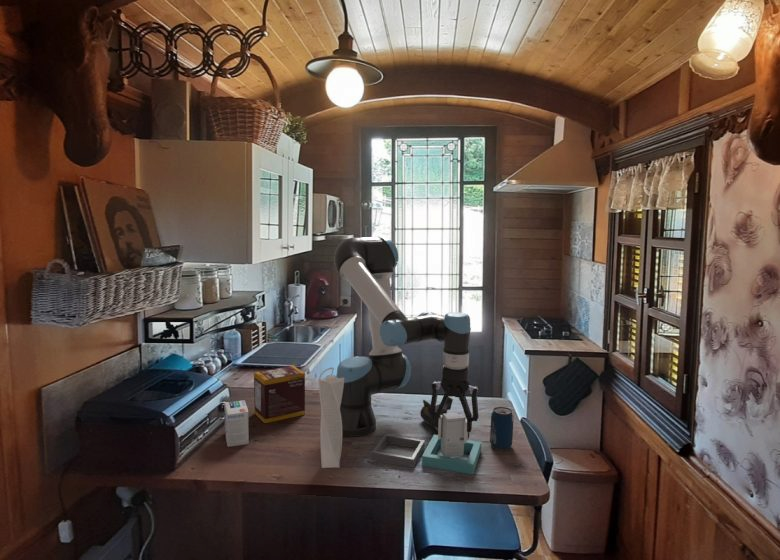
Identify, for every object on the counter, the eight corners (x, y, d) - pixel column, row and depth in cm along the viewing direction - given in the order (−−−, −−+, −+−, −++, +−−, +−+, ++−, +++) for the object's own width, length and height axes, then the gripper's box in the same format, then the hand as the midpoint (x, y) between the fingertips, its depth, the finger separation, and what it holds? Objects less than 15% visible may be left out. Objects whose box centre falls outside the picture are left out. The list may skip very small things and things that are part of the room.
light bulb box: (224, 433, 171) (223, 401, 169) (245, 430, 173) (244, 399, 172) (227, 447, 161) (226, 414, 159) (249, 444, 164) (248, 411, 162)
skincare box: (444, 458, 154) (446, 419, 152) (440, 451, 158) (441, 413, 156) (464, 456, 155) (466, 417, 153) (459, 449, 159) (460, 411, 158)
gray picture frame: (371, 460, 155) (371, 452, 154) (385, 441, 167) (385, 434, 167) (413, 467, 151) (413, 459, 150) (424, 447, 163) (424, 440, 163)
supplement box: (305, 414, 187) (305, 372, 185) (264, 424, 178) (263, 380, 176) (294, 405, 196) (293, 365, 193) (254, 413, 187) (253, 371, 185)
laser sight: (448, 448, 163) (449, 418, 162) (413, 421, 183) (414, 394, 182) (474, 442, 168) (475, 413, 166) (437, 416, 187) (438, 390, 186)
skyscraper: (319, 456, 156) (319, 366, 152) (344, 455, 157) (344, 366, 153) (317, 469, 149) (317, 375, 144) (343, 469, 149) (344, 375, 145)
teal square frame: (421, 465, 152) (422, 455, 152) (433, 443, 166) (434, 434, 166) (473, 474, 147) (473, 464, 147) (480, 451, 162) (481, 442, 161)
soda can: (514, 444, 166) (516, 409, 164) (507, 453, 160) (510, 416, 159) (493, 439, 170) (495, 404, 168) (486, 447, 164) (488, 411, 162)
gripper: (419, 365, 152) (417, 439, 155) (488, 373, 146) (484, 450, 149) (425, 358, 159) (423, 429, 163) (491, 365, 153) (488, 439, 156)
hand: (452, 439), depth 156 cm, fingers closed on skincare box, 7 cm apart
